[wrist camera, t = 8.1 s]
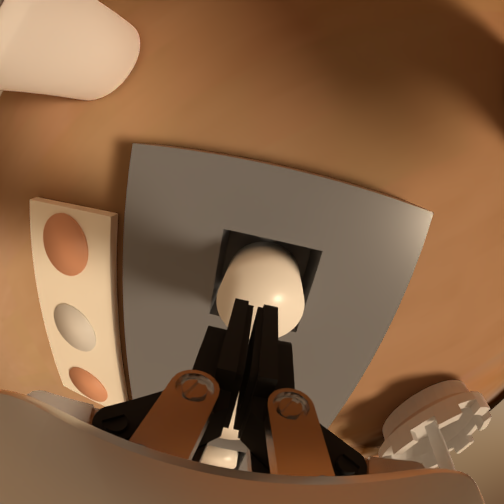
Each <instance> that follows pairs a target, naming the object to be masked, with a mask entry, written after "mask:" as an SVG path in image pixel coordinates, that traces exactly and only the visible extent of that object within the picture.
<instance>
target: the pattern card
mask: <svg viewBox="0 0 504 504" xmlns="http://www.w3.org/2000/svg"><path fill="white" fill-rule="evenodd" d="M117 230H118V213H114V212H109V211H104V210H99V209H95V208H90V207H85V206H80V205H75V204H70V203H65V202H60V201H55V200H50V199H45V198H40V197H36V198H32V199H30V231H31V244H32V255H33V263H34V271H35V278H36V284H37V290H38V296H39V301H40V306H41V311H42V315H43V320H44V324H45V328H46V332H47V336H48V339H49V343H50V346H51V350H52V353H53V356H54V360H55V363H56V366H57V369H58V372H59V375H60V377H61V380H62V383H63V386H65V387H67V388H69V389H71V390H73V391H75V392H76V393H78V394H80V395H82V396H84V397H86V398H88V399H91V400H93V401H95V402H97V403H99V404H101V405H104V406H110V405H114V404H118V403H122V402H125V401H129V400H128V394H127V388H126V382H125V375H124V368H123V360H122V351H121V342H120V330H119V317H118V299H117Z"/></svg>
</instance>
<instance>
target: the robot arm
mask: <svg viewBox="0 0 504 504" xmlns="http://www.w3.org/2000/svg"><path fill="white" fill-rule="evenodd" d="M253 308H254V306H252V305H249V301H246V300H242V299H237V298H235V302H234V305H233V309H232V313H231V317H230V320H229V324H228V328H227V330H226V329H222V328H217V327H213V326H208V328H207V331H206V333H205V336H204V339H203V341H202V344H201V347H200V349H199V352H198V355H197V357H196V360H195V363H194V366H193V368H192V370H185V371H181V372H179V373H177V374H176V375H175V376H174V377H173V378H172V379H171V381H170V382H169V383H168V385H167V386H166V388H165V389H164V390H163V391H160V392H157V393H154V394H150V395H147V396H143V397H140V398H136V399H133V400H129V401H125V402H122V403H118V404H114V405H110V406H106V407H104V408H101V409H97V408H94V406H93V405H92V404H88V403H84V402H80V401H76V400H73V399H69V398H66V397H62V396H59V395H56V394H52V393H49V392H46V391H41V390H37V391H32V392H31V393H29V394H28V395H24V394H20V393H17V392H13V391H8V390H2V389H0V504H485V502H484V499H483V497H482V495H481V492H480V490H479V488H478V486H477V484H476V483H475V482H474V480H473V479H472V478H471V477H470V476H469V475H467V474H465V473H463V472H460V471H456V470H450V469H444V468H425V467H424V466H423V465H422V464H421V463H419V462H416V461H407V460H396V459H387V458H379V457H371V456H370V457H369V458H368V459H366V458H364V457H363V456H362V455H361V454H360V453H359V452H357V451H356V450H354V449H353V448H352V447H350V446H349V445H347V444H346V443H345V442H343V441H342V440H341V439H339V438H338V437H337V436H335V435H334V434H333V433H332V432H330V431H329V430H328V429H326V428H325V427H324V426H323V425H321V424H320V423H319V420H318V416H317V413H316V410H315V407H314V404H313V402H312V400H311V399H310V398H309V397H308V396H307V395H306V394H304V393H303V392H301V391H299V390H296V389H295V382H294V366H293V351H292V343H291V342H285V341H280V340H278V307H275V306H270V305H265V304H264V306H263V308H262V307H258V308H257V312H256V316H255V320H254V324H253V328H252V332H251V335H250V329H251V322H252V315H253ZM249 336H250V339H249ZM238 394H239V395H238ZM237 397H238V401H237ZM236 401H237V408H236V414H235V420H234V427H233V429H234V430H239V432H238V438H239V439H240V440H241V442H242V443H243V444H244V445H245V446H246V447H247V452H246V454H247V467H248V471H242V470H236V469H230V468H224V467H219V466H214V465H209V464H204V463H201V461H202V459H203V456H204V454H205V452H206V450H207V447H208V444H209V442H210V441H212V440H214V439H217V438H219V437H221V434H222V431H223V427H224V428H229V425H230V421H231V418H232V415H233V411H234V408H235V404H236Z"/></svg>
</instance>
